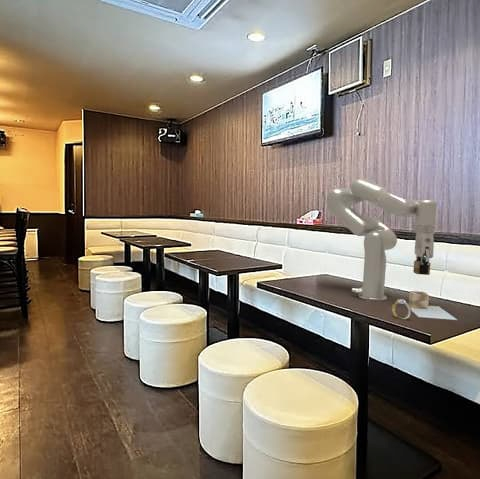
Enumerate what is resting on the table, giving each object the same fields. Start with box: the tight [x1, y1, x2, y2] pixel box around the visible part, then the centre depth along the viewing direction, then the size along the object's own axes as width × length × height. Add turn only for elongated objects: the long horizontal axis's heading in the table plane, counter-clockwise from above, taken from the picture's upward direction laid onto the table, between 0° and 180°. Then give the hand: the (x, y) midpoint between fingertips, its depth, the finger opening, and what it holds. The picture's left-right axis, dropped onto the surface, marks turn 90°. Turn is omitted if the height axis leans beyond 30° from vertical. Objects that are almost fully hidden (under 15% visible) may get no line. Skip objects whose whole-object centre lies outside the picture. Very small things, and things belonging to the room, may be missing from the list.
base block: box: [408, 290, 430, 309], centre depth 166 cm, size 6×6×6 cm
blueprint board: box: [410, 305, 458, 321], centre depth 160 cm, size 14×21×1 cm
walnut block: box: [412, 260, 431, 276], centre depth 165 cm, size 5×5×5 cm
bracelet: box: [391, 298, 412, 320], centre depth 148 cm, size 7×3×8 cm, turn 37°
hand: (421, 272), depth 165 cm, fingers closed on walnut block, 5 cm apart
